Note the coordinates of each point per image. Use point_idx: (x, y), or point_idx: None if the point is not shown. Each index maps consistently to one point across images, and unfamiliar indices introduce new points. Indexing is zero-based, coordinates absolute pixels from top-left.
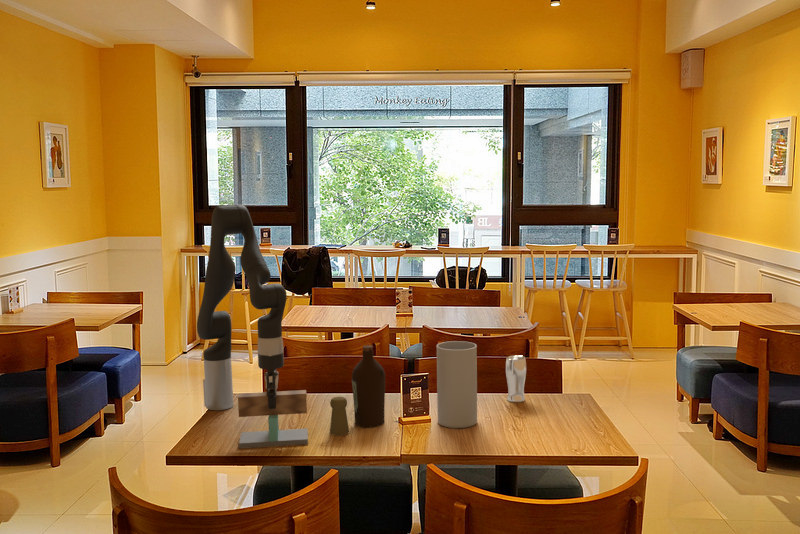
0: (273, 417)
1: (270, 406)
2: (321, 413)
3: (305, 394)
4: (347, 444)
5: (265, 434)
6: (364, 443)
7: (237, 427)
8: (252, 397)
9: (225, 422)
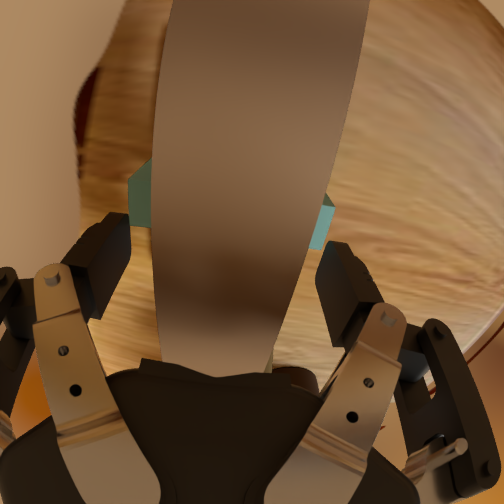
0: (142, 209)
1: (90, 232)
2: (408, 318)
3: None
4: (152, 336)
5: None
6: (155, 358)
7: (435, 74)
8: (161, 89)
9: (484, 65)
